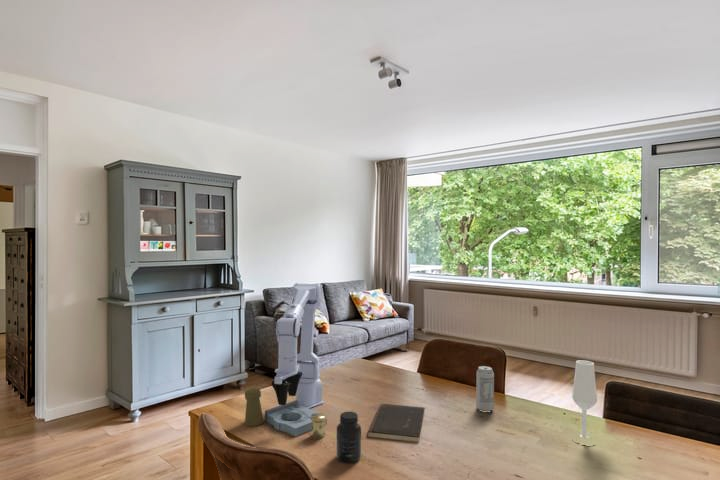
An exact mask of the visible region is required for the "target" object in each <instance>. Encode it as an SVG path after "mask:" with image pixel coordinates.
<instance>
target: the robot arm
mask: <svg viewBox="0 0 720 480" xmlns="http://www.w3.org/2000/svg"><path fill="white" fill-rule="evenodd" d="M291 291H292V298H293V302H292V303H290V304H288V306H287V308H286V310H285V312H284V313H283V316H282V317H280V318H278V319H277V321H276V323H275V324H276V325H275V332H276V333H275V334H276V341H277V342H278V358H277V359H278V361H277V363H278V365H277V366H278V368H276V369H275V370H274V373H276V375H275V376H274V380H273V381H271V386H272V388H273V390H274V393H275V395H276V398H277V403H278V406H280V405H286V403H287V400H288V396H289V397H295V400H297V401H298V404H300V405H302V406H304V407H307V408H309V409H311V408H313V407H317V406H320V405H323V404H324V401H323V383H322V380H321V379H320V375H321V359H320V357H319V356H318V355H316V353H314V337H315V323H316V322H315V321H316V320H315V319H316V318H315V317H316V311H317V308H318V307H321V303H322V295H323V294H322V292H323V290H322V285H321V284H320V283H299V282H298V283H297V282H295V283H294V284H293V286H292V290H291ZM300 329H301V334H300ZM299 334H300V335H301V336H300V349H299V353H298V337H299Z"/></svg>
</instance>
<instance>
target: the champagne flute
mask: <svg viewBox="0 0 720 480" xmlns="http://www.w3.org/2000/svg"><path fill="white" fill-rule="evenodd" d="M595 374H596V372H595V363H594V362H592V361H590V360H584V359H583V360H581V359H579V360H578V359H577V360H576V361H575V370H574V377H573V378H574V379H573V385H572V386H573V387H572V396H571V397H572V400H573V402H574V403H575V404H576V406H578V407H579V408H580V409H581V434H579V435H580V437H582V438H588V437H589V436H588V435H587V413H588V412H587V410H590V409H591V408H593V407H594V406H595V405H596V404H597V403H598V395H597V393H598V392H597V383H596V375H595Z"/></svg>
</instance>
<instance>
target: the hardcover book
mask: <svg viewBox="0 0 720 480" xmlns="http://www.w3.org/2000/svg"><path fill="white" fill-rule="evenodd" d="M425 410H426V407H423V406H414V405H413V406H411V405H402V404H401V405H400V404H392V403H380V404H379V406H378V408H377V411H376V413H375V415H374V417H373V420H372V421H371V424H370V426H369V428H368V430H367V432H366V436H367V438H369V437H370V438H377V439H388V440H398V441H405V442H414V443H419V439H420V436H421V431H422V426H423V422H424V421H423V420H424V414H425Z"/></svg>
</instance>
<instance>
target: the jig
mask: <svg viewBox="0 0 720 480" xmlns="http://www.w3.org/2000/svg"><path fill="white" fill-rule="evenodd" d="M315 413H319V411H315V410H313V409H311V408H307V407H304V406H302V405H300V404H298V401H297V400H296V399H295V400H292V401H290V402H286V405H277V406H275V407H272V408H268V409H266V410H265V411H264V421H265V422H266V423H268V424H270V425H271V426H273V429H275V430H277V431H278V432H284V433H286V434H290V435H291V436H293V437H299V436H300V435H303V434H305V433H309V431H312V420H311V415H312V414H315ZM327 421H328V418H327V419H326V420H325V425H327V423H328V422H327Z"/></svg>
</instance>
